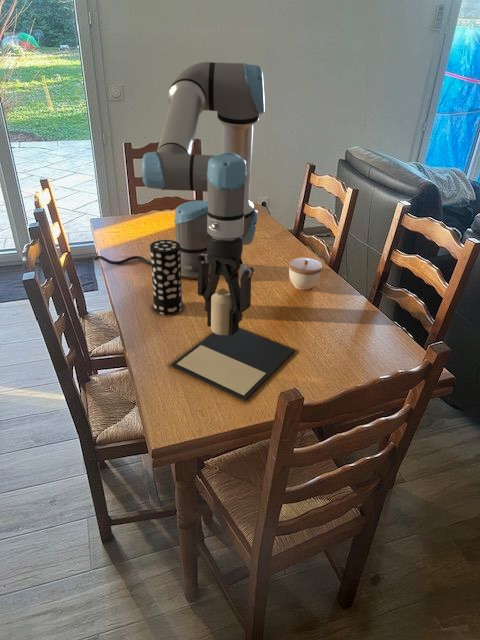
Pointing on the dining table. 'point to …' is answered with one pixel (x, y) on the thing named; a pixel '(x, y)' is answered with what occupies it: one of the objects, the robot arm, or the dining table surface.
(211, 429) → the dining table surface
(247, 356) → the table mat
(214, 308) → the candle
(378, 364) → the dining table surface
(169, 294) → the spotted tube
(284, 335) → the dining table surface
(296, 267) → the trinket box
